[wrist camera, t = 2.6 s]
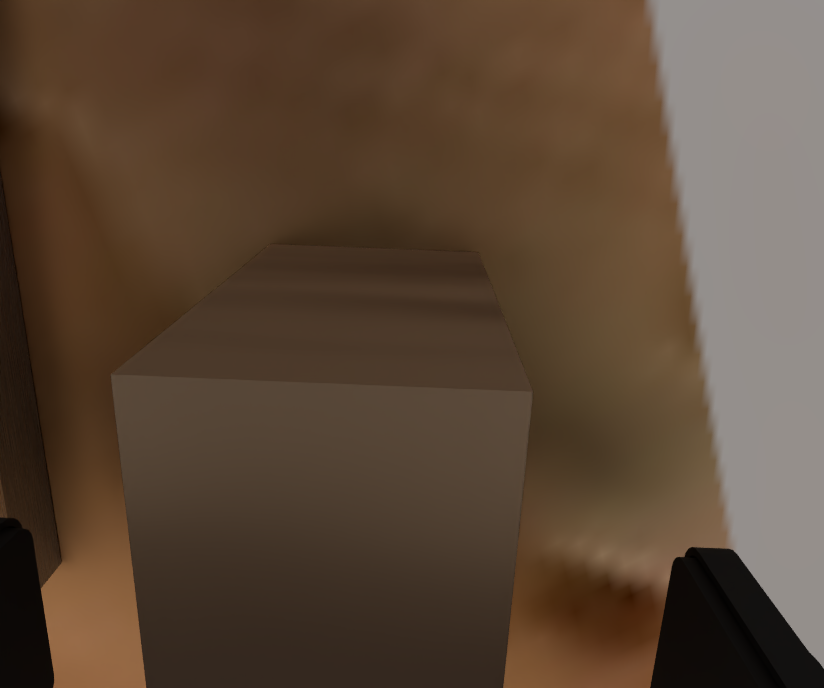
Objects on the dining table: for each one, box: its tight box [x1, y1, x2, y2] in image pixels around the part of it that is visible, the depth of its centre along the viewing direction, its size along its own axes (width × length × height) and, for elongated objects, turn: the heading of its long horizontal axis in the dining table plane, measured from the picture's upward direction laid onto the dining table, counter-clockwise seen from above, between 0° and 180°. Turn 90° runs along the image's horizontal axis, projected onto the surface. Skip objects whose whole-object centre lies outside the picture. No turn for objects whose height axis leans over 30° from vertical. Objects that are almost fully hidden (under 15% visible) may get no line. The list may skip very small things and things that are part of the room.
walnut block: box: [111, 244, 533, 688], centre depth 11 cm, size 8×4×7 cm, turn 178°
